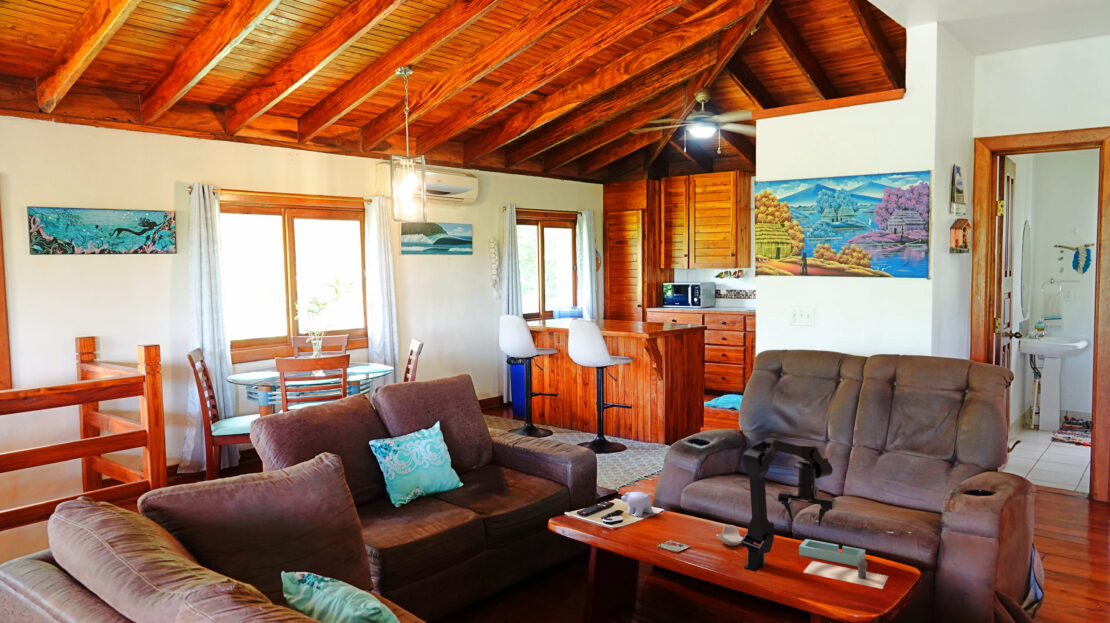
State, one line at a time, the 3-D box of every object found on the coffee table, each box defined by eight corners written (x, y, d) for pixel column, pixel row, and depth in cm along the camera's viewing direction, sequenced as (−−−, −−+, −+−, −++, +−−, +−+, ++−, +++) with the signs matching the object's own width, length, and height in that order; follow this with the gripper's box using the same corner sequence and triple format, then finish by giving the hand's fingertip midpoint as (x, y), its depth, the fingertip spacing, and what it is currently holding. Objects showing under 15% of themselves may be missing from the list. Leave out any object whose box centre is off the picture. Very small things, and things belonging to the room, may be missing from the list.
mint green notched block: (865, 561, 254) (865, 549, 254) (859, 569, 246) (860, 557, 246) (805, 549, 265) (805, 538, 265) (799, 557, 257) (799, 546, 257)
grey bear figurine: (631, 505, 318) (631, 483, 318) (658, 513, 307) (659, 490, 307) (614, 510, 311) (614, 488, 310) (642, 518, 300) (642, 495, 299)
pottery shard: (722, 549, 265) (723, 535, 265) (708, 539, 276) (708, 526, 276) (748, 546, 268) (748, 533, 268) (733, 536, 279) (733, 523, 279)
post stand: (888, 579, 238) (888, 557, 238) (882, 591, 228) (882, 569, 228) (812, 563, 251) (812, 543, 251) (803, 575, 241) (803, 554, 241)
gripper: (839, 478, 261) (838, 522, 262) (786, 471, 271) (785, 513, 272) (832, 486, 252) (831, 531, 252) (777, 478, 262) (777, 521, 263)
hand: (806, 523), depth 260 cm, fingers open, 9 cm apart
